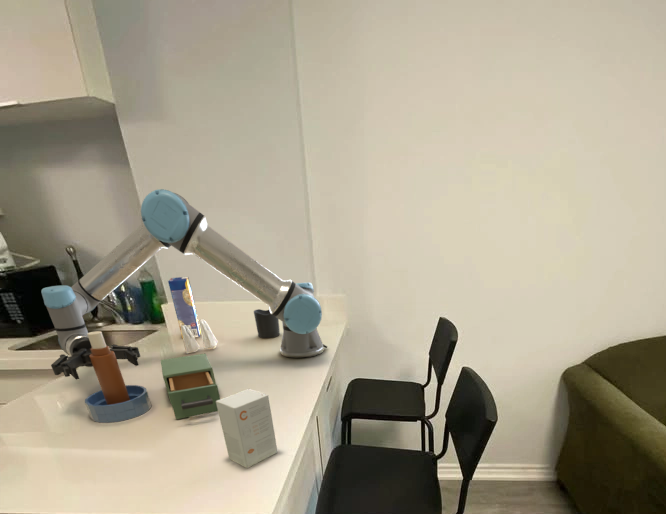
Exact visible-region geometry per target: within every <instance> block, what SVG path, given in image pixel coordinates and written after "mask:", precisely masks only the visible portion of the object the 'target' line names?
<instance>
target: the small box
mask: <svg viewBox="0 0 666 514" xmlns="http://www.w3.org/2000/svg"><path fill="white" fill-rule="evenodd" d="M216 405H217V409H218V411H217V413H218V417H219V421H220V426H221V429H222V434H223V439H224V442H225V446H226V450H227V455H228V459H229V460H230V461H233V462H234V463H236V464H238V465H240V466H242V467H244V468H246V469H248V468H251V467H252V466H254V465H256V464H258V463H260V462H262V461H264V460H265V459H268V458H269V457H271V456H273V455H275V454H277V453H278V447H277V446H278V445H277V439H276V434H275V429H274V422H273V416H272V410H271V404H270V397H269V395H268V394H267V393H265V392H262V391H258V390H255V389H251V388H246V389H244V390H242V391H239V392H236V393H233V394H231V395H229V396H226V397H223V398H220V400H217V401H216Z"/></svg>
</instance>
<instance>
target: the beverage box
mask: <svg viewBox="0 0 666 514" xmlns="http://www.w3.org/2000/svg"><path fill="white" fill-rule="evenodd" d="M167 283H168V286H169V291H170V295H171V300H172V302H173V307H174V310H175V314H176V318H177V322H178V323H177V324H178V327H179V331H180V334H181V338H182V340H183V336H182V331H181V326H182V325H183V326H184V325H186V326H187V327H188V328H189V330H190V331H191V333H192V335H193V336H194V338H200V337H201V330H199V325H200V323H199V324H198V321H199V318H198V319H197V316H198V313H197V314H196V312H197V308H196V304H195V305H194V303H195V300H194V295H192V294H193V291H192V286H191V281H190V277H189V276H181V277H180V276H179V277H170V278H169V280H167ZM195 308H196V309H195ZM184 328H185V327H184Z"/></svg>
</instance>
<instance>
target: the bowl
mask: <svg viewBox="0 0 666 514" xmlns="http://www.w3.org/2000/svg"><path fill="white" fill-rule="evenodd" d="M125 386H126V389H127V392H128V395H129V398H130V400H129V401H125V402H122V403H117V404H111V405H107V403H106V400H105V397H104V395H103V392H102V389H100V390H98V391H95V392H93V393H91V394H89V395H88V396H87V397H86V398H85V399H84V405H85V407H86V409H87V412H88V415H89V417H90V419H91V420H92V421H93V422H97V423H103V424H104V423H105V424H107V423H118V422H124V421H129V420H131V419H135V418H137V417H139V416H141V415H144V414H146V413H147V412H148V411H150V410H151V408H152V403H151V400H150V396H149V393H148V390H147V387H145V386H144V385H137V384H125Z"/></svg>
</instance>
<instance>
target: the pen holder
mask: <svg viewBox="0 0 666 514" xmlns="http://www.w3.org/2000/svg"><path fill="white" fill-rule="evenodd" d="M253 315H254V321H255V326H256V331H257V335H258V337H259V338H261V339H273V338H277V337H279V336H280V334H281V333H280V331H281V330H280V320H279V319H278V318H277V317H275V316H274V315H272V314H271V313H270V309H269V308H268V309H266V310H264V309H261V308H260V309H254V310H253Z"/></svg>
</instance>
